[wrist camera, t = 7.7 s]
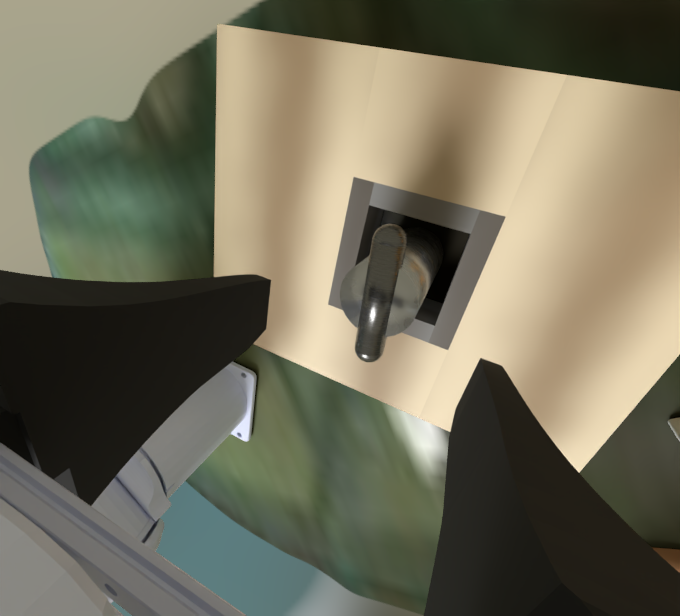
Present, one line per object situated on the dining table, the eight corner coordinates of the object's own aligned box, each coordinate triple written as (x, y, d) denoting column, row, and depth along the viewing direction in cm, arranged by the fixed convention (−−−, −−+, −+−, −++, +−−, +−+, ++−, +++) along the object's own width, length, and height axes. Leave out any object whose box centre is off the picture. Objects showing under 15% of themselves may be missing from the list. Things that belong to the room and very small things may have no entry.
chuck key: (380, 293, 20) (328, 355, 14) (398, 197, 17) (345, 218, 11) (429, 307, 19) (398, 380, 13) (457, 207, 16) (434, 236, 10)
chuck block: (241, 309, 25) (213, 326, 22) (257, 44, 17) (217, 23, 15) (558, 441, 19) (568, 484, 16) (791, 130, 11) (878, 120, 9)
